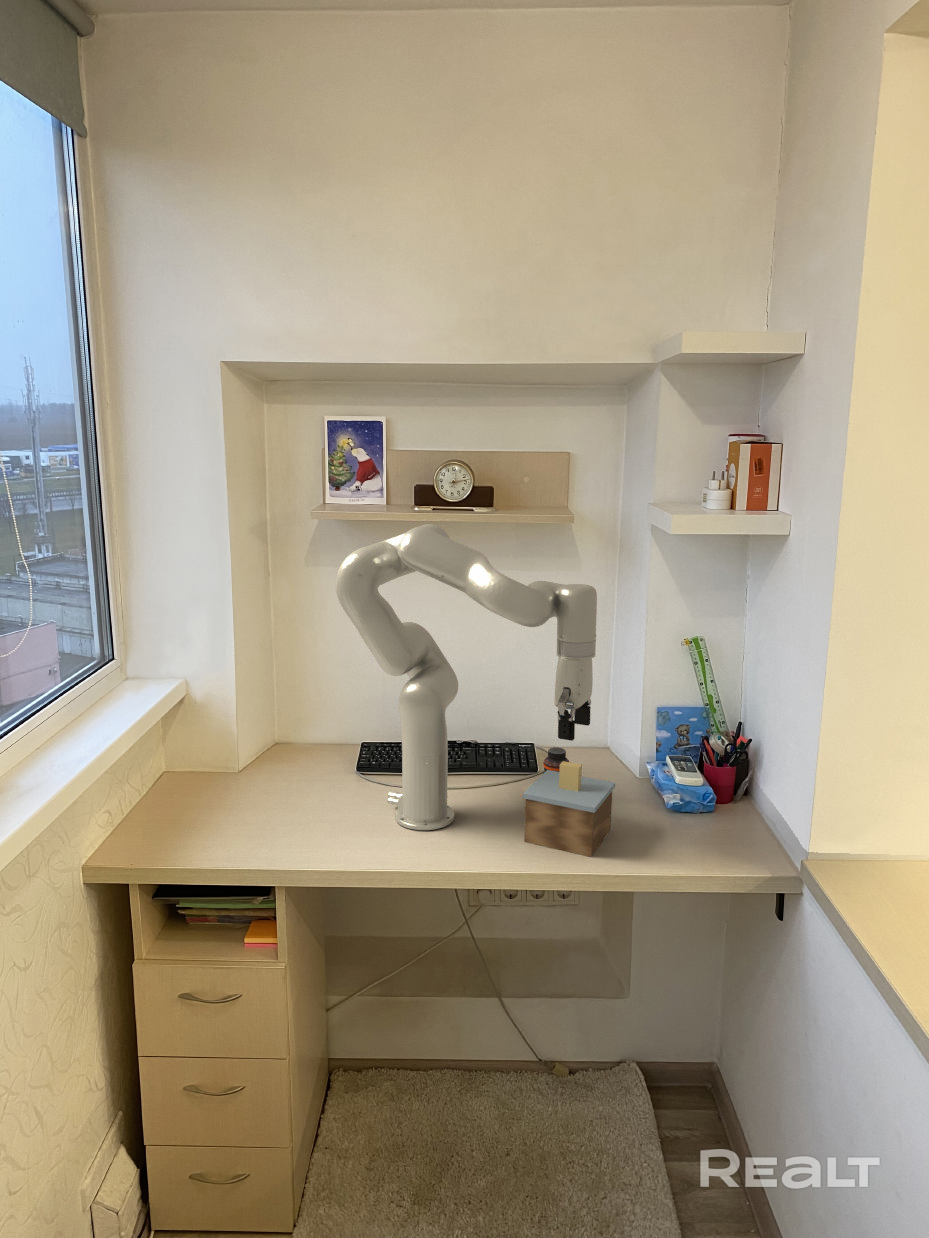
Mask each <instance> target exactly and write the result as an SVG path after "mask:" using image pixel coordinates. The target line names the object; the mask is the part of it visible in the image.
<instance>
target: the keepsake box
mask: <svg viewBox="0 0 929 1238" xmlns="http://www.w3.org/2000/svg"><path fill="white" fill-rule="evenodd" d="M524 799H525V798H524ZM524 804H525V806H524V839H523V841H524V842H523V843H528V844H533V845H536V846H542V847H545V848H550V849H555V850H558V851H563V852H568V853H572V854H576V855H581V856H586V857H588V858H592V857H593V855H594V854H595V852H596V851H597V850H598V849H599V847H600V845H601V844H602V843H603V842H604V840H605V838H606V837H607V836H608V834H609V833H610V832H611V825H612V823H611V822H612V810H613V809H612V804H613V791H612V792H611V793H610V794H609V795H608V797H607V798H606V799H605V800H604V802H603V803H602V804H601V806H600V807H599V808H598V809H597V811H596V812H595V813H593V812H588V811H583V810H578V809H574V808H569V807H564V806H559V805H554V804H549V803H544V802H539V801H534V800H530V799H525V803H524Z"/></svg>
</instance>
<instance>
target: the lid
mask: <svg viewBox="0 0 929 1238" xmlns="http://www.w3.org/2000/svg"><path fill="white" fill-rule="evenodd" d="M582 769H583V764H580V763H574V762H570V761H569V762H565V761H563V762H562V763H561V764H560V771H559V772H556V771H551V770H547V771H546V772H545V773H544V774H543V773H542V775H540V776H539V777H538V778H537V779H536V780H535V781H534V782H533V783H532V784H531V785H530V786H529V787H528V788H527V789H526V790H525V791H524V792H523V793H522V798H523V799H530V800H534V801H539V802H544V803H549V804H554V805H559V806H564V807H569V808H574V809H578V810H583V811H588V812H593V813H595V812H596V811H597V809H598V808H599V807H600V806H601V804H602V803H603V802H604V800H605V799H606V798H607V797H608V795H609V794H610V793H611V792H612V793H613V791H614V790H615V788H616V782H614V781H609V780H603V779H597V778H594V777H593V778H592V777H588V776H582V775H583V771H582Z"/></svg>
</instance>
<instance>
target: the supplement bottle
mask: <svg viewBox="0 0 929 1238" xmlns="http://www.w3.org/2000/svg"><path fill="white" fill-rule="evenodd" d="M563 761H565V762H570V760H569V759H568V758H567V749H564V748H563V747H559V746H558V747H557V746H556V747H555V746H553V747H550V748H548V749H547V756H546V757H544V759H543V766H542V775H543V774H544V773H545V772H546V771H547V770H551V771H556V772H559V771H560V764H561V763H562V762H563Z"/></svg>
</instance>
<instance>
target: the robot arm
mask: <svg viewBox="0 0 929 1238" xmlns="http://www.w3.org/2000/svg"><path fill="white" fill-rule="evenodd" d="M414 572H419V573H420V574H423V575H425V576H427V577H430V578H432V579H434V580H436V581H439V582H441V583H442V584H445V585H448V586H449V587H452V588H453V589H457V590H458V591H461V592H463V593H465V595H467V596H468V598H470V599H471V600H473V601H475V602H476V603H477V604H479V605H480V606H482V607H483V608H485V609H486V610H487V611H489V612H491V613H494V614H495V615H498V616H500V617H502V618H505V619H506V620H509V621H511V622H513V623H515V624H518V625H521V626H523V627H528V628H538V627H541V626H543V625H545V624H546V622H548V621H549V620H550V619H551V618H556V621H557V622H556V623H557V624H556V628H557V629H556V656H557V657H558V660H557V665H556V672H555V673H556V674H555V685H554V687H555V688H554V699H553V701H554V703H553V704H554V706H556V707H557V712H556V713H557V721H558V722H557V724H558V725H557V726H558V727H557V737H558V740H565V741H570V742H571V741H572V742H573V741H574V740H575V734H576V733H575V730H576V728H575V727H576V725H580V726H581V725H582V726H587V727H588V726H590V725H591V709H592V708H591V704H592V700H591V697H592V695H593V679H594V678H593V673H594V672H593V658H595V657H596V649H597V648H596V646H597V645H596V644H597V641H596V640H597V614H598V613H597V609H598V608H597V607H598V592H597V589H596V588H595V587H594V586H592V585H589V584H583V583H571V584H570V583H568V584H563V583H559V582H558V583H557V582H553V581H552V582H551V581H547V580H536V581H535V580H534V581H533V582H531V583H528V585H526V584H524V583H521V582H519V581H517V580H515V579H513V578H511V577H508V576H507V575H505V574H503V573H501V572H500V571H499V570H497V569H496V568H495V567H494V566H493V565H492V564H491V562H490V561H489V560H488V558H487V557H486V556H485V554H483V553H482V552H480V551H478V550H476V549H473V548H472V547H469V546H467V545H464V544H461V543H460V542H458V541H455V540H453V539H451V538H450V536H449V534H448V533H447V531H446V530H445V529H444V528H443V527H441V526H439V525H436V524H432V523H428V524H427V523H426V524H423V525H418V526H416V527H415V526H414V527H413V528H411V529H409V530H408V531H406V532H404V533H401V534H399V535H396V536H393V537H390V538H387V539H385V540H382V541H378V542H375V543H373V544H370V545H367V546H363V547H361V548H357V549H356V550H354V551H352V552H351V553H350V554H349V555H347V556H346V557H345V558H344V560H343V561H342V562H341V564H340V566H339V568H338V570H337V573H336V578H335V591H336V596H337V599H338V602H339V604H340V606H341V608H342V609H343V611H344V612H345V614H346V615H347V616H348V618H349V619H350V621H351V622H352V624H353V625H354V627H355V629H356V630H357V632H358V633H359V635H360V636H361V639H362V640H363V642H364V643H365V645H366V646H367V648H368V649H369V651H370V653H371V654H372V655H373V657H374V659H375V661H376V663H377V664H378V665H379V666H380V668H381V669H382V670H383V672H385V673H386V674H388V675H390V676H394V677H399V676H403V675H405V674H406V675H407V676H408V678H409V680H407V682H406V683H405V684H404V686H403V687H402V689H401V691H400V694H399V698H398V712H399V718H400V727H401V751H402V753H401V756H402V757H401V758H402V759H401V760H402V762H401V763H402V765H401V767H402V768H401V770H402V772H401V773H402V776H401V777H402V779H401V781H402V783H401V785H402V789H401V791H402V792H399V791H395V790H390V791H389V792H388V795H387V797H388V798H387V803H388V804H389V805H395V806H396V807H397V809H396V810H395V813H394V817H395V821H396V823H397V824H399V825H400V826H402V827H404V828H407V829H410V830H416V831H431V830H433V831H434V830H438V829H442V828H445V827H447V826H449V825H450V824H451V823H453V821H454V819H455V810H454V809H453V808H452V807H451V805H448V765H449V764H448V763H449V761H448V753H449V752H448V748H449V747H448V746H449V745H448V741H449V740H448V728H447V720H446V710H447V708H448V707H449V706H450V704H451V703H452V702H453V701H454V699H455V698H456V697H457V694H458V690H459V681H458V676H457V675H456V673H455V671H454V669H453V667H452V665H451V664H450V663H449V661H448V660H447V657H446V656H445V655H444V653H443V652H442V650H441V649H440V647H439V646H438V645H439V644H437V642H436V640H435V639H434V637H432V635H431V633H430V632H429V631H428V630H427V629H426V628H425V627H423V626H422V625H421V624H419V623H416V622H412V621H404V622H402V621H401V619H400V618H399V617H398V615H397V614H396V612H395V610H394V609H393V607H392V606H391V604H390V603H389V602H388V600H386V599H385V598H384V597H383V595H381V593H380V592H379V587H380V586H382V585H385V584H386V583H389V582H390V581H393V580H396V579H398V578H401V577H403V576H406V575H409V574H412V573H414ZM569 710H570V711H569Z"/></svg>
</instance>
